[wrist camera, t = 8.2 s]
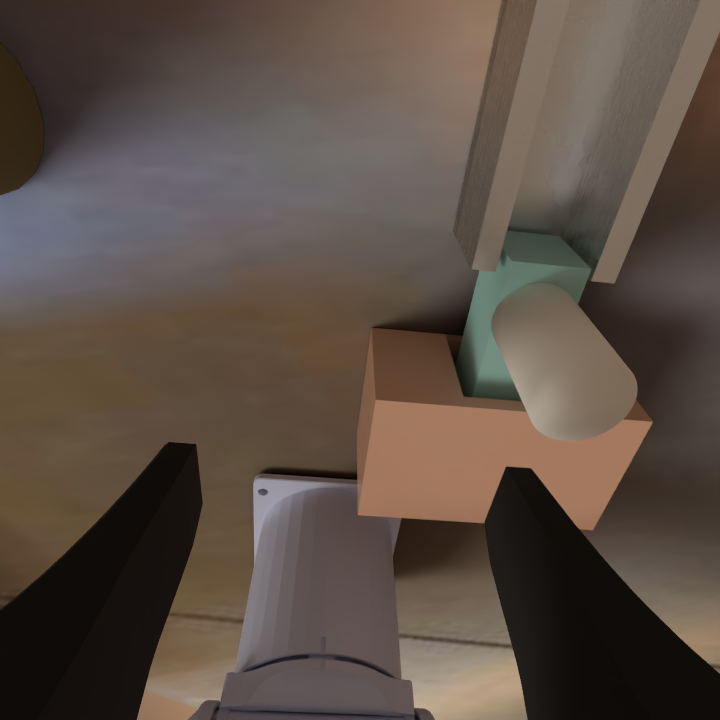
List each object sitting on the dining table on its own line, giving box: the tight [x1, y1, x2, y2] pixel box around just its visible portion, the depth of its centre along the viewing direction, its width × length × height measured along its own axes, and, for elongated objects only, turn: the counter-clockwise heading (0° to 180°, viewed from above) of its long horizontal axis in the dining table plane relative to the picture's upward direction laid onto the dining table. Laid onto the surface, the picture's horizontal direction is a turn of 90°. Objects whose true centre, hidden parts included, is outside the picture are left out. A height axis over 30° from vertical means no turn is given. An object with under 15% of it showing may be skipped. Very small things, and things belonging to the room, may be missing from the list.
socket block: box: [357, 328, 653, 530], centre depth 21 cm, size 6×10×5 cm, turn 84°
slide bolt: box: [455, 231, 638, 441], centre depth 18 cm, size 8×3×8 cm, turn 174°
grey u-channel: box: [453, 0, 720, 284], centre depth 16 cm, size 8×5×4 cm, turn 174°
